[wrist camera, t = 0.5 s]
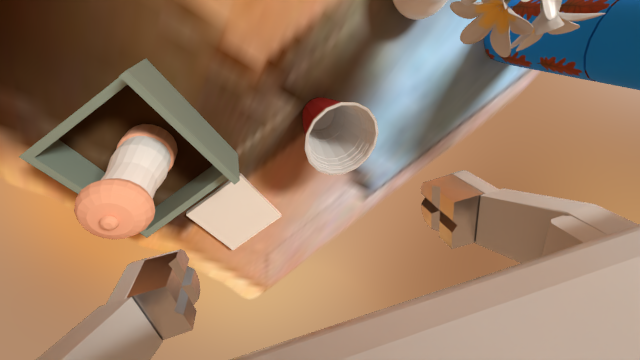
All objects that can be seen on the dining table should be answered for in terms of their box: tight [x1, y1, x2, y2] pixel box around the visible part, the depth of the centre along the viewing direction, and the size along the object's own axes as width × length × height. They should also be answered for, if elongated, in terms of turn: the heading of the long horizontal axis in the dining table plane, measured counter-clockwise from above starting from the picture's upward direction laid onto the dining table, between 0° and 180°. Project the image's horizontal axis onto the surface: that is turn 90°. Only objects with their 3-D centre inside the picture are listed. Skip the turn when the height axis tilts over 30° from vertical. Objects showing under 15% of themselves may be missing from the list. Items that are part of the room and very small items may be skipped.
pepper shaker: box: [74, 124, 178, 239], centre depth 35 cm, size 7×7×19 cm
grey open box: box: [19, 59, 240, 237], centre depth 40 cm, size 18×18×9 cm
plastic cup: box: [302, 97, 378, 175], centre depth 43 cm, size 11×11×12 cm
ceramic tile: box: [186, 173, 281, 250], centre depth 53 cm, size 12×12×1 cm
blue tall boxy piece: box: [484, 0, 640, 90], centre depth 40 cm, size 11×11×25 cm
